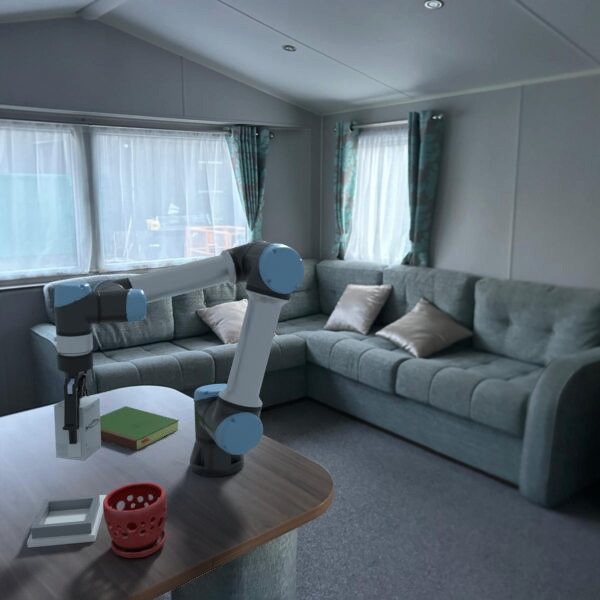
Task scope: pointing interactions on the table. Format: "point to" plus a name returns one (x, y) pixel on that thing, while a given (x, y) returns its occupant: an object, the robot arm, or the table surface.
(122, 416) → the hardcover book
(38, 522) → the plate
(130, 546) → the plant pot
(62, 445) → the supplement box
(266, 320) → the robot arm
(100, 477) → the table surface
